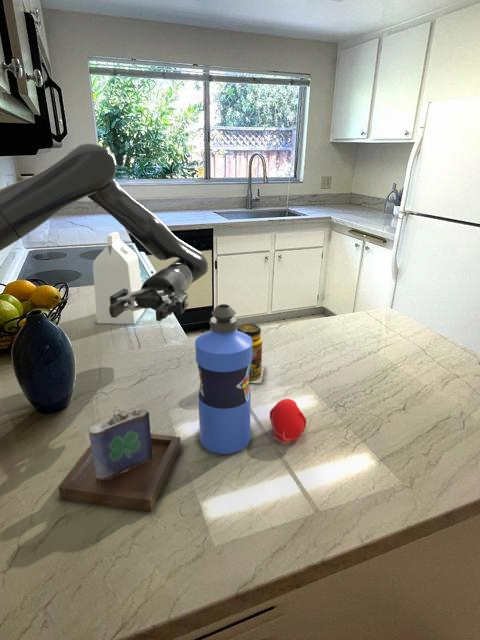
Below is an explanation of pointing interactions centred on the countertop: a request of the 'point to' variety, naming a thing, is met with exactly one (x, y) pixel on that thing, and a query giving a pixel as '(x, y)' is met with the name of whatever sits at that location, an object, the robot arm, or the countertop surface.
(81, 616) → the countertop surface
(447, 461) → the countertop surface
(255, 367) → the condiment
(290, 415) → the cap
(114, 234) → the milk
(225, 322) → the water bottle
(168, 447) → the tray
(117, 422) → the flask
